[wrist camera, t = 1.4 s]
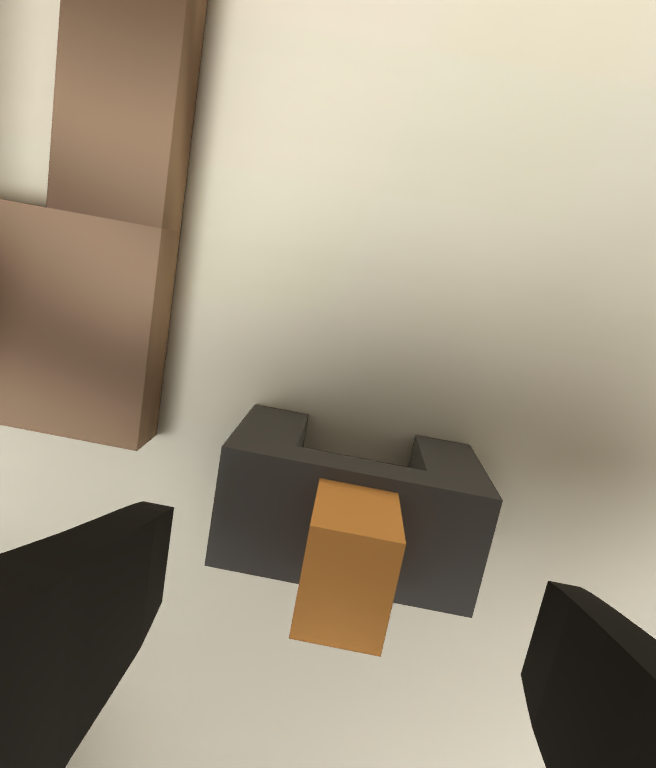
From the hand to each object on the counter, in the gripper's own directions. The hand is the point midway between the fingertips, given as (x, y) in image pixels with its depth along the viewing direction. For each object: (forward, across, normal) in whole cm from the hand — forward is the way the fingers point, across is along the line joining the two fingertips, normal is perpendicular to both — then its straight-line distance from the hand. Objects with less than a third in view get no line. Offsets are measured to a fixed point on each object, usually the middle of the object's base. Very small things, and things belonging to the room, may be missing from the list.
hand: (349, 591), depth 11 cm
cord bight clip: (+6, 0, 0) cm, 6 cm away
